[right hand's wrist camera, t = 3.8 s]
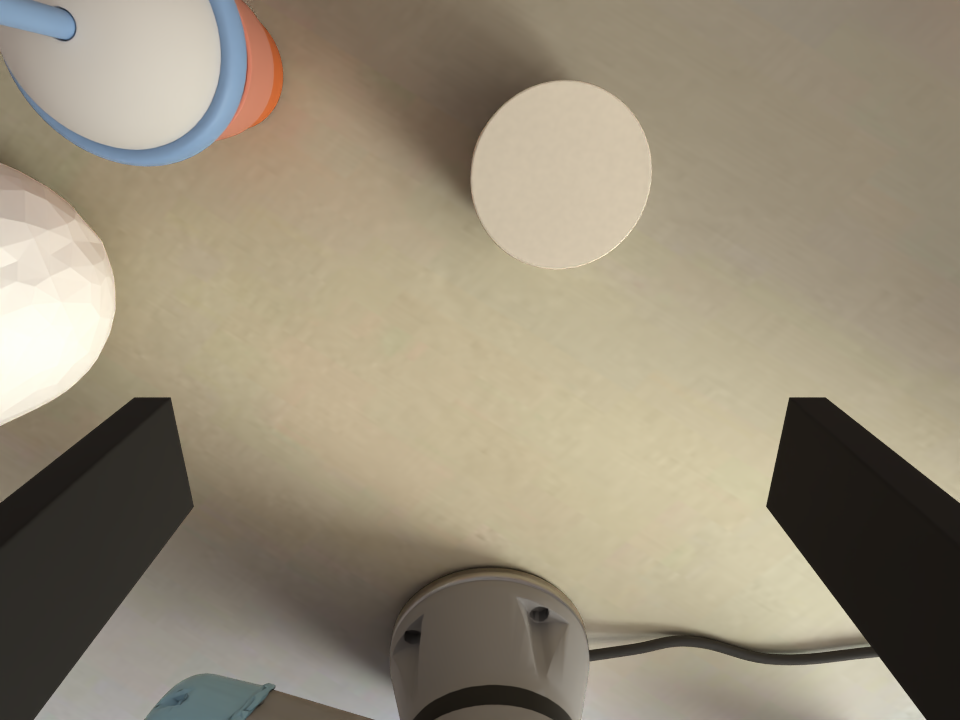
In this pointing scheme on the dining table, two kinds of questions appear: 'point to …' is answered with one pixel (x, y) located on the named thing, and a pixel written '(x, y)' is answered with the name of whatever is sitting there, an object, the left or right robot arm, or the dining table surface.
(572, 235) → the cylinder
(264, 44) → the cup with straw
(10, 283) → the skull
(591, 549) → the dining table surface
